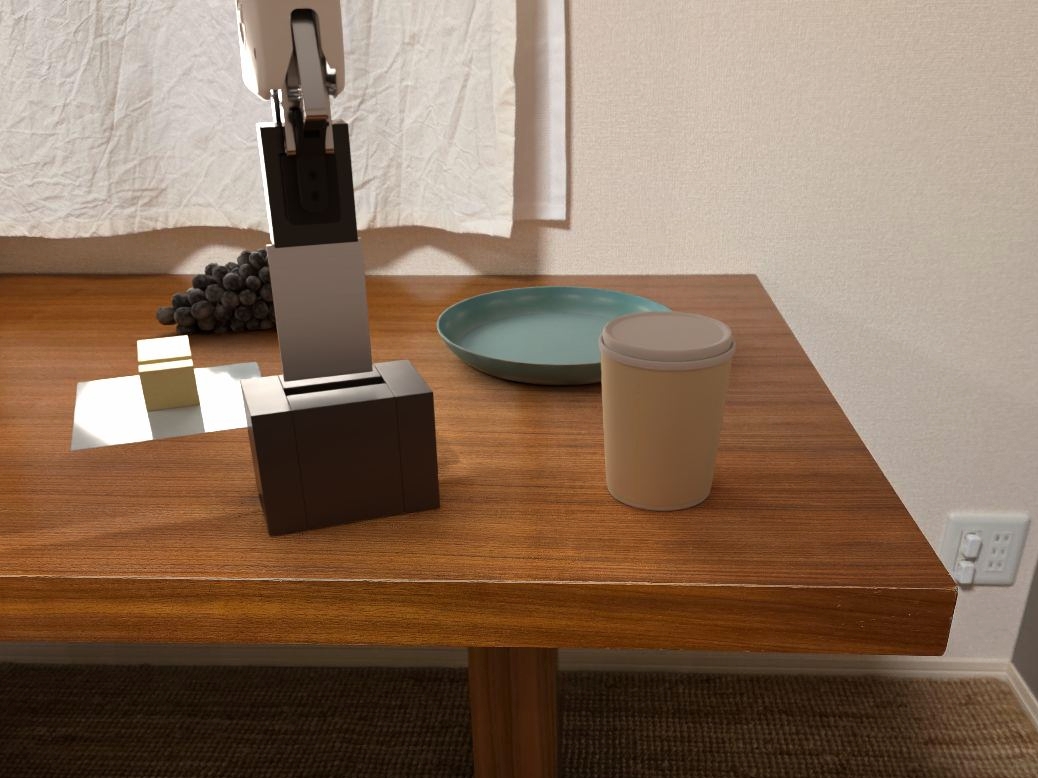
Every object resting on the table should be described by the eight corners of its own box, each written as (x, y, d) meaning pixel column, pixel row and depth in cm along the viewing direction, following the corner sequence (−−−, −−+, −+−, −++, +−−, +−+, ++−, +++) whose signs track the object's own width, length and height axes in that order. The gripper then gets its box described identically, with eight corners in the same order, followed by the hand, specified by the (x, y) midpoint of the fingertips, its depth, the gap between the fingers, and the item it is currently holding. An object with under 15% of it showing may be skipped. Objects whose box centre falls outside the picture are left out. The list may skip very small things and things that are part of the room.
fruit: (143, 258, 98) (297, 240, 103) (143, 267, 106) (287, 249, 110) (163, 348, 100) (314, 326, 105) (163, 350, 107) (303, 329, 112)
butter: (145, 400, 88) (137, 361, 86) (144, 377, 93) (136, 340, 91) (198, 393, 89) (191, 355, 87) (194, 371, 94) (187, 334, 92)
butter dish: (72, 462, 79) (70, 451, 78) (79, 392, 92) (76, 382, 92) (280, 433, 84) (278, 422, 83) (258, 371, 97) (256, 361, 96)
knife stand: (269, 536, 68) (250, 416, 64) (257, 493, 74) (239, 379, 70) (440, 507, 72) (433, 391, 68) (416, 468, 78) (408, 358, 73)
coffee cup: (667, 450, 80) (677, 302, 74) (748, 495, 73) (766, 335, 68) (570, 479, 76) (572, 323, 70) (647, 529, 69) (656, 362, 63)
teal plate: (400, 382, 94) (398, 348, 92) (482, 308, 114) (481, 279, 113) (657, 407, 88) (659, 371, 87) (695, 325, 108) (698, 294, 107)
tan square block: (146, 411, 85) (138, 372, 84) (146, 404, 87) (138, 365, 85) (200, 404, 87) (193, 365, 85) (199, 397, 88) (192, 359, 86)
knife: (286, 386, 67) (252, 127, 59) (282, 376, 68) (248, 123, 60) (375, 375, 69) (354, 123, 61) (369, 366, 70) (348, 118, 62)
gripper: (194, -125, 60) (237, 198, 69) (215, -150, 47) (265, 252, 56) (321, -121, 62) (347, 192, 71) (376, -144, 49) (399, 242, 58)
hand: (311, 216), depth 63 cm, fingers closed on knife, 2 cm apart
